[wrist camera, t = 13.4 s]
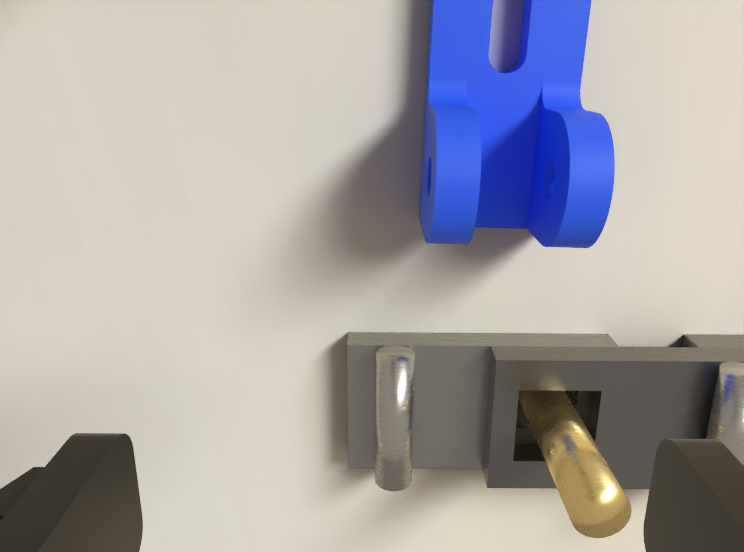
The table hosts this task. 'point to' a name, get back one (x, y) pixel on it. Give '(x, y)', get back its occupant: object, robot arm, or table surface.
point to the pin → (576, 464)
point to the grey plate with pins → (533, 372)
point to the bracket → (512, 129)
